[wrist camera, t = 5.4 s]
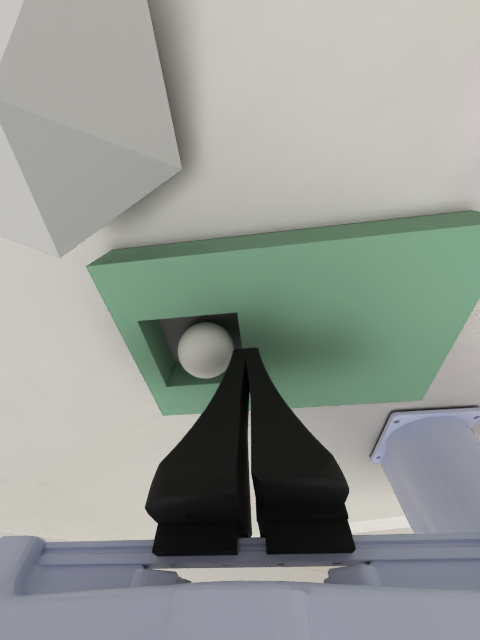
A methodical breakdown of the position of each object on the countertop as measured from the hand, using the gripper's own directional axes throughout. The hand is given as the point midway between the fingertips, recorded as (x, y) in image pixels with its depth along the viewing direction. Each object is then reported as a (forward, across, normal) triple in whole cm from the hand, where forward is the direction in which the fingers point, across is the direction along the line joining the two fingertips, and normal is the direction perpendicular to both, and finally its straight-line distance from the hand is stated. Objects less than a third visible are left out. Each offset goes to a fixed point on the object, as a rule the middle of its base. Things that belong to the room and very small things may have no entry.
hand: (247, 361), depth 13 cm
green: (+3, -2, 0) cm, 4 cm away
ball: (+1, +3, 0) cm, 3 cm away
